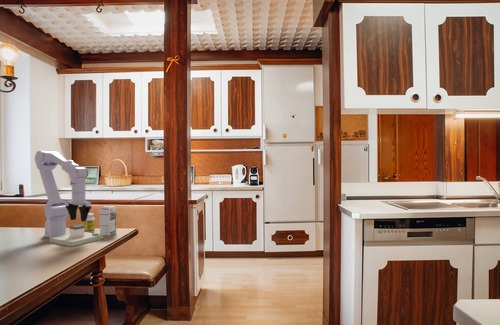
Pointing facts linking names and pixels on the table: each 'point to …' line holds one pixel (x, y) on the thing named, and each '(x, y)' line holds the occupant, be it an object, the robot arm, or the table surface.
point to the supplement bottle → (89, 223)
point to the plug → (77, 231)
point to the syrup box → (108, 220)
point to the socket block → (76, 239)
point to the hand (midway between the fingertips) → (78, 220)
